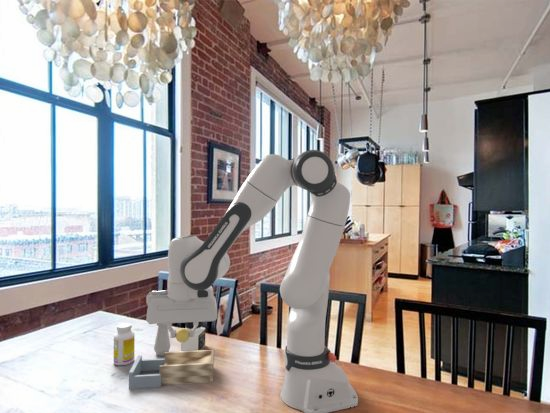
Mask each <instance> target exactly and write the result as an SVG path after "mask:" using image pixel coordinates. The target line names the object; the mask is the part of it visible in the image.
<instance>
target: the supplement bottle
mask: <svg viewBox="0 0 550 413" xmlns="http://www.w3.org/2000/svg"><path fill="white" fill-rule="evenodd" d="M132 327H133V325H132V323H131V322H130V323H129V322H123V323H119V324H117V325H116V331H117V332H115V333H114V335H113V363H114V365H116V366H126V365H129V364H132V363H134V360H135V332H134V331H133V330H132Z"/></svg>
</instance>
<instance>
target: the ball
mask: <svg viewBox="0 0 550 413" xmlns="http://www.w3.org/2000/svg"><path fill="white" fill-rule="evenodd" d="M175 339H176V341H177V342H179V343H180V344H181V343H183V342H186V341H187V340H188V339H189V331H188V330H187V329H186V327H185V328H184V327H182V328H179V329H178V330H176V338H175Z"/></svg>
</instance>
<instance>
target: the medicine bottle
mask: <svg viewBox="0 0 550 413" xmlns="http://www.w3.org/2000/svg"><path fill="white" fill-rule="evenodd" d="M194 326H195V325H193V322H185V328H186V329H187V330H188V331H190V329H193V327H194ZM205 346H206V327H203V322H199V323H198V326H197V328H196V330H195V336H194V337H189V339H188V340H187V341H186V342H183V343H181V342H180V351H198V350H203V348H204V347H205Z"/></svg>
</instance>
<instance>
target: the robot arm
mask: <svg viewBox="0 0 550 413" xmlns="http://www.w3.org/2000/svg"><path fill="white" fill-rule="evenodd" d="M337 181H338V180H337V177H336V172H335V167H334V164H333V162H332V160H331V157H330V156H328V154H326V153H325V152H323V151H322V150H318V149H309V150H305V151H304V152H303V151H302V152H301V153H299V154H298V155H297V156H295V157H293V158H291V159H286V158H285V157H283V156H281V155H278V154H276V153H275V154H274V153H271V154H270V153H269V154H267V155H266V156H264V158H262V159H261V161H259V162H258V163H257V164H256V166H255V167H254V168H253V169H252V171H251V172H250V173H249V175H248V176H247V177H246V179H245V180H244V181H243V183H242V184H241V186H240V187H239V189H238V191H237V193H236V194H235V196H234V198H233V200H232V202H231V203H230V205H229V207H228V209H227V210H226V212H225V214H224V215H223V216H222V217H221V219H220V220H219V222H218V223H217V224H216V225H215V227H214V228H213V230H212V231H211V232H210V233H209V235H208V237H207V238H206V239H205V240H204V241H203V240H201V239H200V238H199V237H198V236H197V235H194V234H190V235H189V234H188V235H183V236H178V237H174V238H172V240H171V241H170V243H169V245H168V250H167V252H168V253H167V270H168V277H167V290H158V291H157V290H152V291H151V292H149V293H148V294H147V295H146V298H145V302H146V305H147V309H146V310H147V311H146V317H145V318H146V322H147V324H149V325H157V324H163V323H167V328H168V332H169V333H170V334H169V339H173V338H174V339H176V333H177V329H174V328H173V326H172V325H173V324H176V323H177V324H182V323H183V324H186V322H193V325H195V326H194V327H193V329H190V331H189V337H194V336H195V330H196V328H197V326H198V323H199V322H202V323H203V322H204V323H205V322H215V321H216V320H218V304H217V298H216V297H215V295H214V287H213V286H212V285H213V284H214V283H215V282H217V281H218V280H220V279H222V278H223V277H224V276H225V275H226V274H228V271H229V270H230V268H231V257H230V255H229V253H228V251H229V250H230V248H231V247H232V246H233V244H234V243H235V241H237V239H238V237H239V236H240V235H241V234H242V233H244V231H246V230H247V229H248V228H250V227H251V226H253V225H255V224H257V223H258V222H260V221H262V220H263V219H264V218H265V217H266V216H267V215H268V214H269V213H271V211H272V210H273V209H274V207H275V206H276V204H278V202H279V200H280V199H281V197H282V196H283V194H284V193H285V192H286V191H287V190H288V189H289V188H290V187H293V186H297V187H299V188H301V189H303V190H306V192H309V193H310V197H311V200H310V201H311V202H310V206H309V208H308V212H307V216H306V218H305V219H306V220H305V222H304V225H303V229H302V232H301V236H300V238H299V242H298V244H297V246H296V248H295V250H294V253H293V255H292V257H291V259H290V262H289V264H288V267H287V269H286V272H285V275H284V276H283V278H282V280H281V283H280V286H279V292H280V293H279V294H280V297H281V299H282V302H284V303H285V305H287V306H288V307H289V308H290V309H289V314H288V317H287V323H286V331H287V332H286V346H285V351H284V367H285V369H284V378H283V382H282V387H281V390H280V393H279V394H280V395H279V396H280V399H281V401H282V402H283V403H284V404H286V405H287V406H288V407H290V408H293V409H296V410H299V411H302V412H303V413H332V412H336V411H341V410H346V409H349V408H350V407H351V408H355V407H357V406H358V405H359V396H358V393H357V392H356V390H355V389H354V387H353V386H352V385H351V384H350V381H349V378H348V375H347V374H346V372H345V371H344V369H343V368H341V367H340V366H339V365H338V364H336V361H337V356H336V355H335V353H334V352H332V351H331V350H330V348H328V347H327V346H326V345H325V338H326V337H325V336H326V317H327V313H328V312H327V310H328V302H329V294H330V292H329V291H330V281H331V276H330V275H331V274H330V269H331V266H332V264H333V261H334V259H335V257H336V255H337V251H338V249H339V247H340V246H339V245H340V242H341V240H342V236H343V233H344V230H345V226H346V223H347V219H348V215H349V210H350V205H351V204H350V203H351V202H350V201H351V192H350V190H349V189H348V188H347V187H346V186H345V185H344V184H342V183H340V182H337ZM354 406H355V407H354Z"/></svg>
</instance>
